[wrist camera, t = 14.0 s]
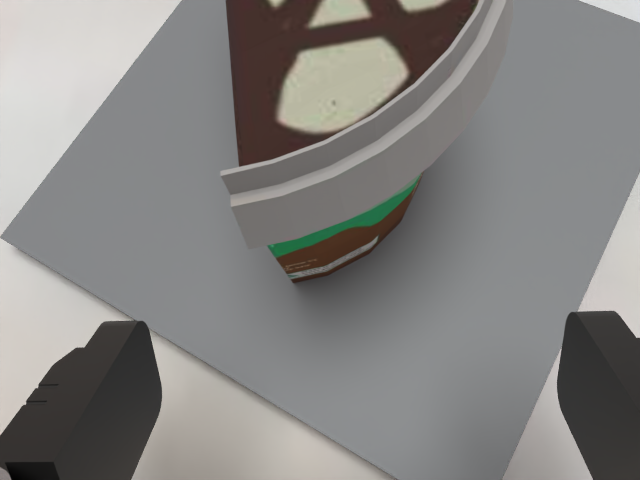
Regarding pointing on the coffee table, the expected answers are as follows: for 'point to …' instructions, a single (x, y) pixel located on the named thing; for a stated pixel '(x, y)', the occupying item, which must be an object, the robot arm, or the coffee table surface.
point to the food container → (348, 115)
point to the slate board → (383, 262)
